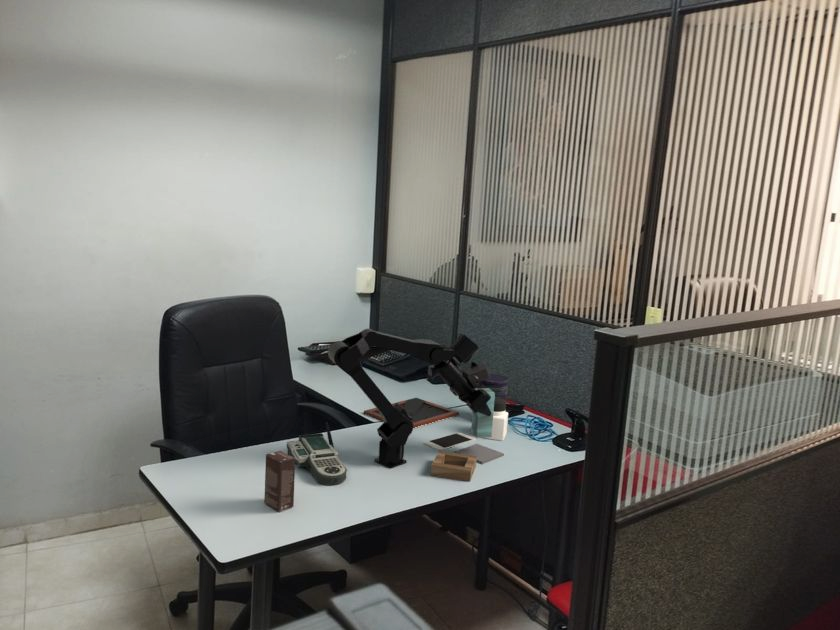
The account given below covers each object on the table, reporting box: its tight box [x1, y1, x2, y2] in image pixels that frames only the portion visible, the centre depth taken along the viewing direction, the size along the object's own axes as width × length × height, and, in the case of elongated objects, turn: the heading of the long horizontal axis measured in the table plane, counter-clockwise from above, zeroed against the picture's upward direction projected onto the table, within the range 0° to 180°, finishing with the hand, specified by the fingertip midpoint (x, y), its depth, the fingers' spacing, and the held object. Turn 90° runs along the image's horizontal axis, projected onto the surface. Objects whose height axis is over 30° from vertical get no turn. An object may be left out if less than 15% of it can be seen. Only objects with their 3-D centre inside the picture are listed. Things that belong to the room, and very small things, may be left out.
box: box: [263, 450, 296, 513], centre depth 156 cm, size 6×4×12 cm
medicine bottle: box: [483, 397, 509, 442], centre depth 210 cm, size 7×7×12 cm
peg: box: [470, 388, 495, 439], centre depth 192 cm, size 4×4×13 cm
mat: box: [454, 443, 505, 465], centre depth 195 cm, size 10×10×1 cm
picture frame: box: [363, 397, 460, 429], centre depth 227 cm, size 20×2×25 cm
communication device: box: [286, 421, 348, 486], centre depth 178 cm, size 12×24×9 cm, turn 26°
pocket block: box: [430, 450, 477, 482], centre depth 182 cm, size 10×10×3 cm
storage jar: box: [477, 373, 509, 412], centre depth 223 cm, size 10×10×15 cm
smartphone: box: [423, 431, 476, 451], centre depth 204 cm, size 7×16×1 cm, turn 133°
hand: (487, 412), depth 193 cm, fingers closed on peg, 4 cm apart
